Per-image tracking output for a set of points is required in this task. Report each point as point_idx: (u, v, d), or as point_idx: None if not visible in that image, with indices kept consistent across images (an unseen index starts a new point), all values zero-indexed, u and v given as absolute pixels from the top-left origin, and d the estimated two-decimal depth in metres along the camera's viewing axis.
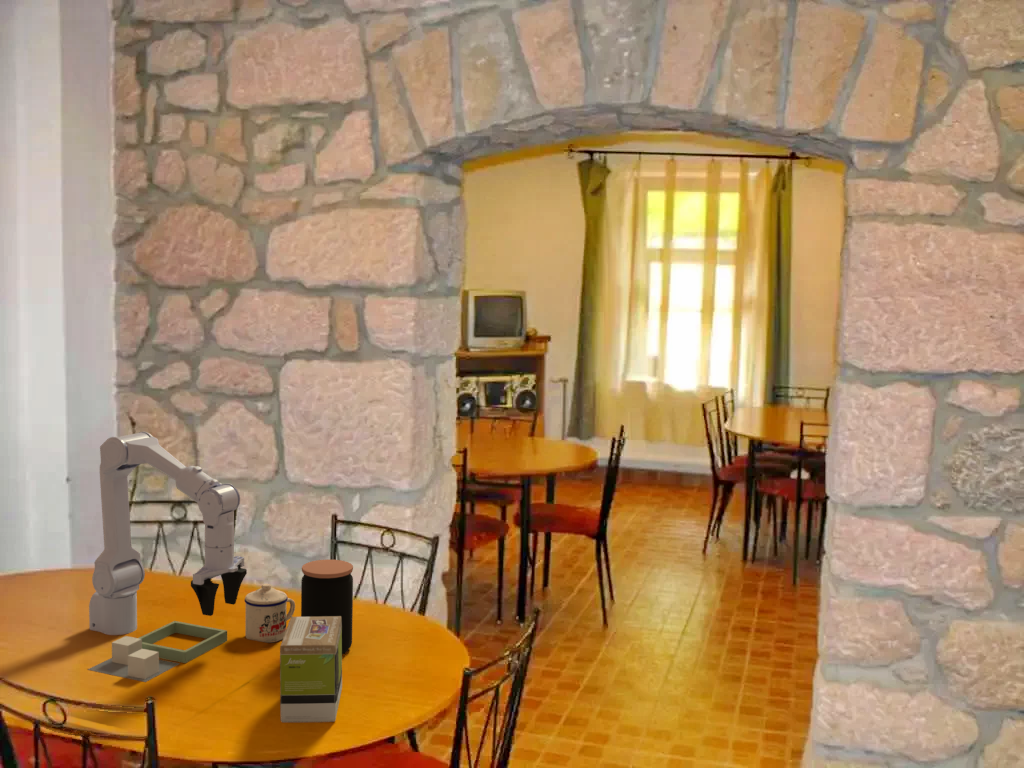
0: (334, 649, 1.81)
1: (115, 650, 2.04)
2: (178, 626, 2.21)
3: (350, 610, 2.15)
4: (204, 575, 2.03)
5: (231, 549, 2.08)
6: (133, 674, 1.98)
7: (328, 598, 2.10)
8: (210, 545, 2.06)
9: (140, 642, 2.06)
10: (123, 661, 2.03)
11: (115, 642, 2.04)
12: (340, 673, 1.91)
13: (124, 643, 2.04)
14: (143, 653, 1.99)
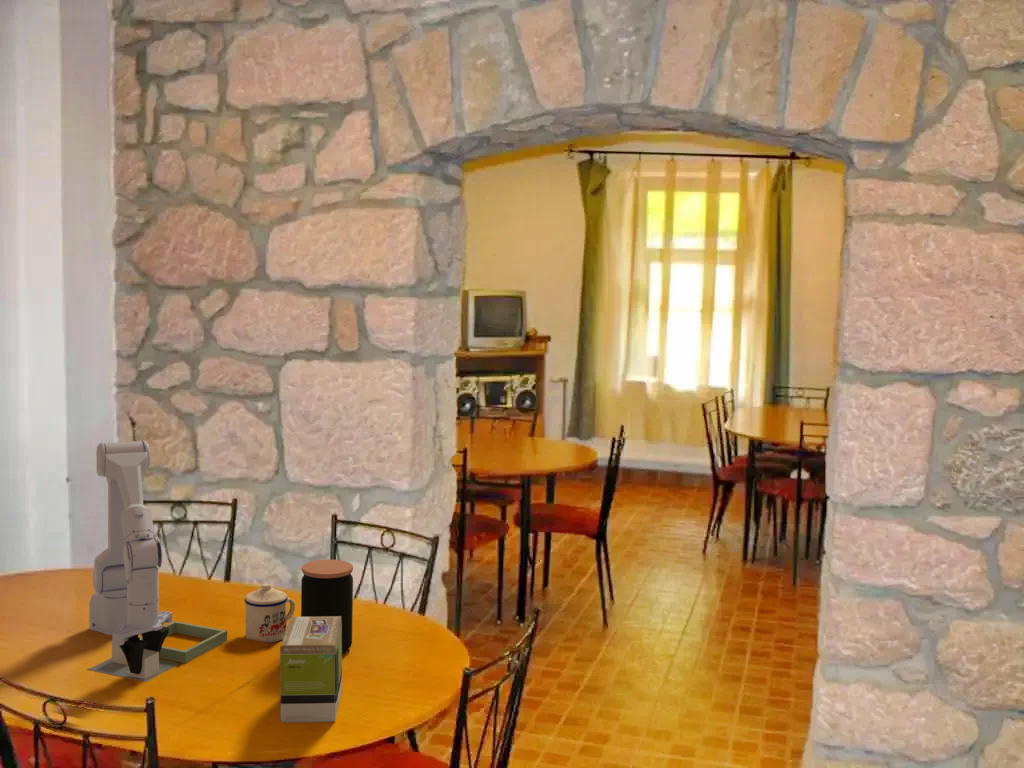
0: (334, 649, 1.81)
1: (115, 650, 2.04)
2: (178, 626, 2.21)
3: (350, 610, 2.15)
4: (124, 635, 1.92)
5: (155, 606, 1.97)
6: (133, 674, 1.98)
7: (328, 598, 2.10)
8: (127, 600, 1.96)
9: None
10: (123, 661, 2.03)
11: None
12: (340, 673, 1.91)
13: None
14: (143, 653, 1.99)
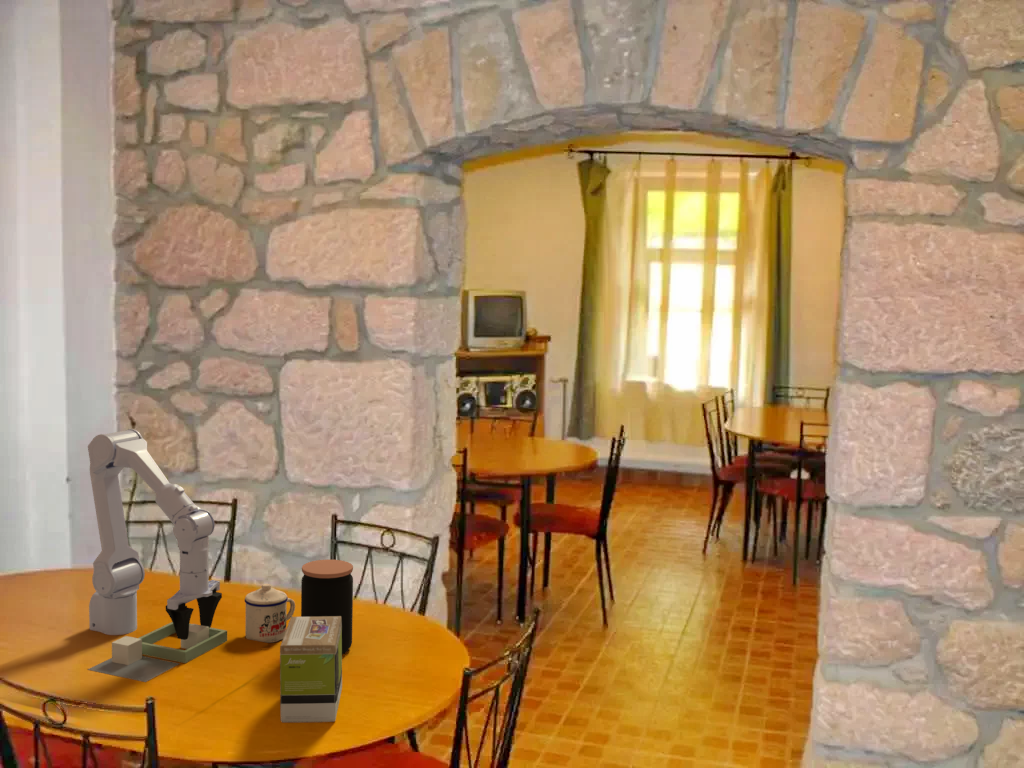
0: (334, 649, 1.81)
1: (115, 650, 2.04)
2: None
3: (350, 610, 2.15)
4: (178, 600, 2.07)
5: (206, 574, 2.12)
6: (186, 647, 2.13)
7: (328, 598, 2.10)
8: (185, 570, 2.10)
9: (140, 642, 2.06)
10: (123, 661, 2.03)
11: (115, 642, 2.04)
12: (340, 673, 1.91)
13: (124, 643, 2.04)
14: (194, 628, 2.14)
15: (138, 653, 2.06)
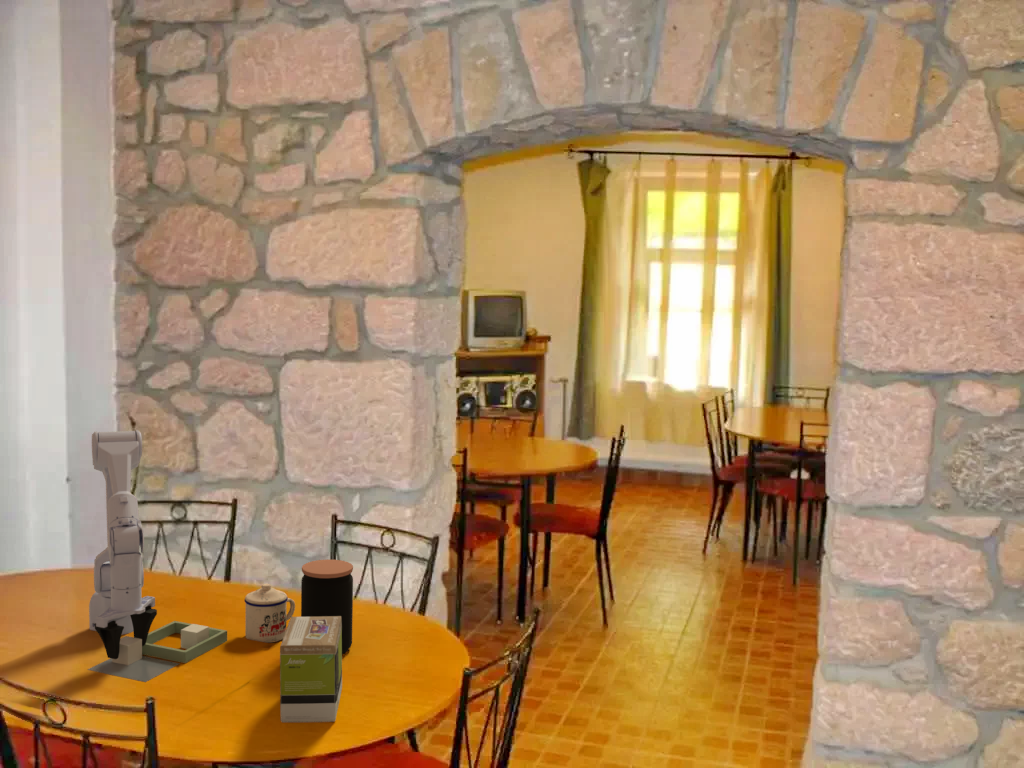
0: (334, 649, 1.81)
1: None
2: (178, 626, 2.21)
3: (350, 610, 2.15)
4: (108, 618, 1.98)
5: (138, 590, 2.03)
6: (186, 647, 2.13)
7: (328, 598, 2.10)
8: (110, 584, 2.02)
9: (140, 642, 2.06)
10: (123, 661, 2.03)
11: None
12: (340, 673, 1.91)
13: (124, 643, 2.04)
14: (194, 628, 2.14)
15: (138, 653, 2.06)
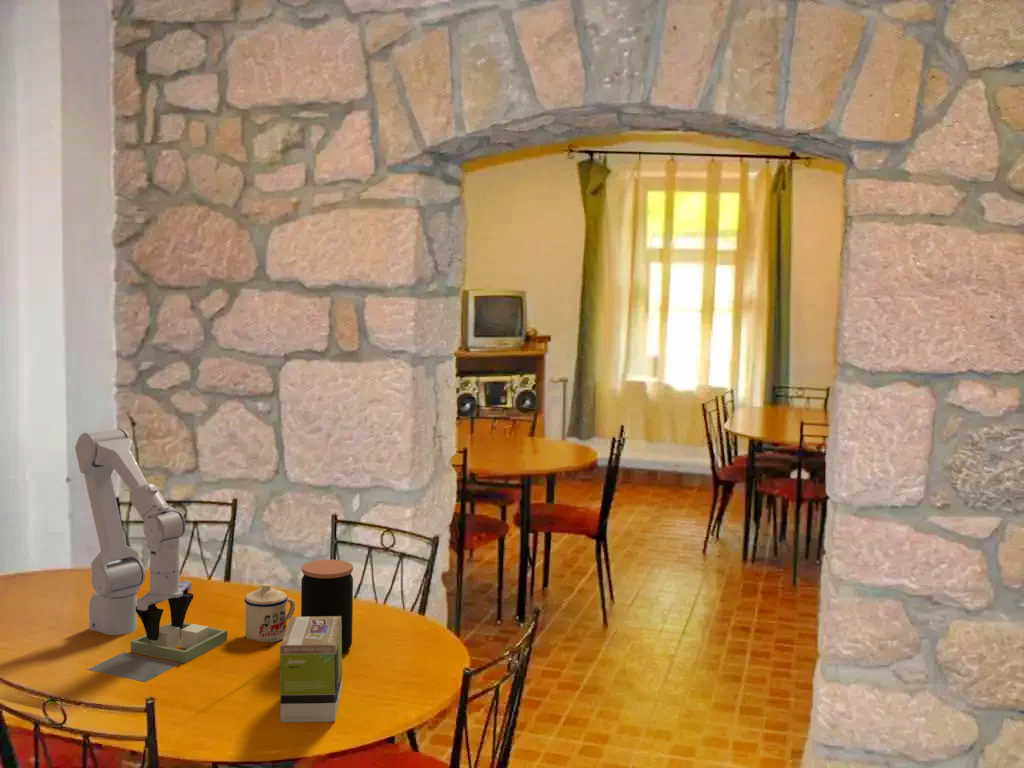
0: (334, 649, 1.81)
1: None
2: None
3: (350, 610, 2.15)
4: (148, 601, 2.06)
5: (176, 575, 2.11)
6: (186, 647, 2.13)
7: (328, 598, 2.10)
8: (153, 570, 2.09)
9: (178, 630, 2.13)
10: None
11: None
12: (340, 673, 1.91)
13: (163, 631, 2.11)
14: (194, 628, 2.14)
15: (176, 641, 2.13)
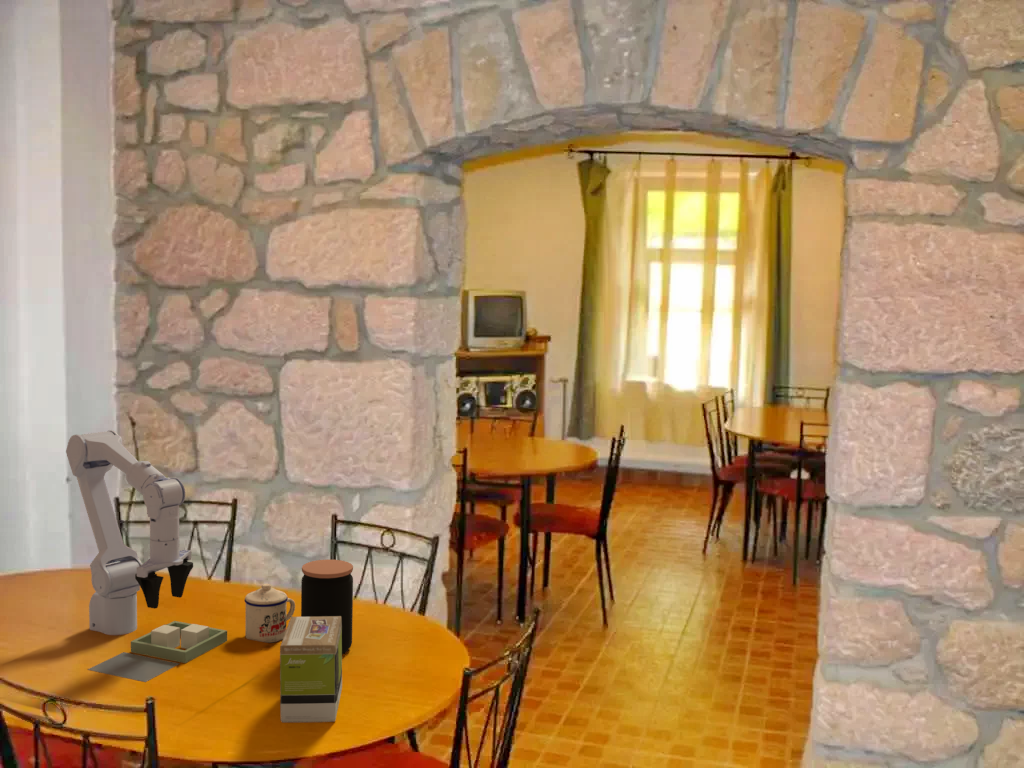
0: (334, 649, 1.81)
1: (154, 638, 2.11)
2: (178, 626, 2.21)
3: (350, 610, 2.15)
4: (148, 568, 2.05)
5: (176, 542, 2.10)
6: (186, 647, 2.13)
7: (328, 598, 2.10)
8: (153, 538, 2.08)
9: (178, 630, 2.13)
10: None
11: (154, 630, 2.12)
12: (340, 673, 1.91)
13: (163, 631, 2.11)
14: (194, 628, 2.14)
15: (176, 641, 2.13)
